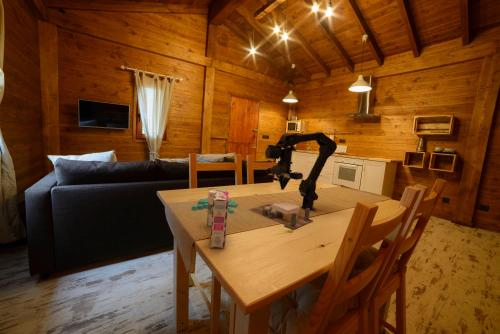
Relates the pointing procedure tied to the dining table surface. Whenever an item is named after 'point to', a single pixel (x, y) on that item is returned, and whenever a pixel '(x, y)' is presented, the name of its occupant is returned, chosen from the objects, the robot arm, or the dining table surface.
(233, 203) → the alien figure
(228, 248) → the dining table surface
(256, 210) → the roller bed
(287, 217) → the support block
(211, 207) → the syrup box
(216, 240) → the candy bar box
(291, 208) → the slab
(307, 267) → the dining table surface
